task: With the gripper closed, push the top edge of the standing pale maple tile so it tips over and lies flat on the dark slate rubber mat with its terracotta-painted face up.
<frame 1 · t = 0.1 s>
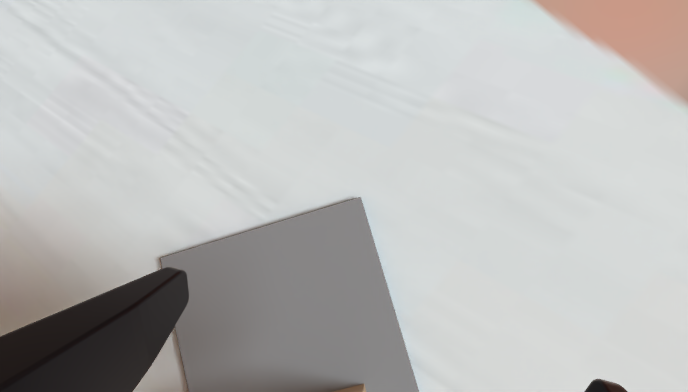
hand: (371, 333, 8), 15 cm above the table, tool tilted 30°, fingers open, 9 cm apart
slate mat: (291, 348, 23), on the table
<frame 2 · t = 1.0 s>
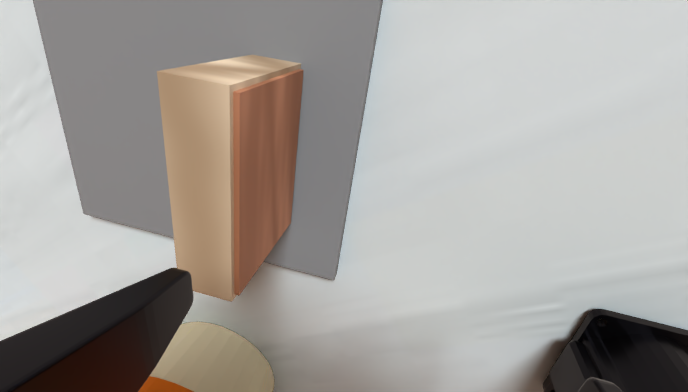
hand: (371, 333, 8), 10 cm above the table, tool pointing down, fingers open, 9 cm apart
maple tile: (272, 147, 17), point 1 cm above the table, touching slate mat
slate mat: (202, 127, 18), on the table
reusable coffee cup: (220, 364, 27), on the table
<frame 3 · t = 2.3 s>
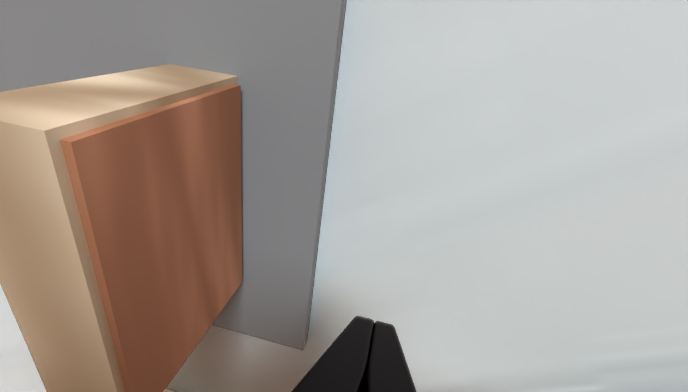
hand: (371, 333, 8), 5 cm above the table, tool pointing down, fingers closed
maple tile: (210, 187, 12), point 1 cm above the table, touching slate mat
slate mat: (122, 159, 14), on the table
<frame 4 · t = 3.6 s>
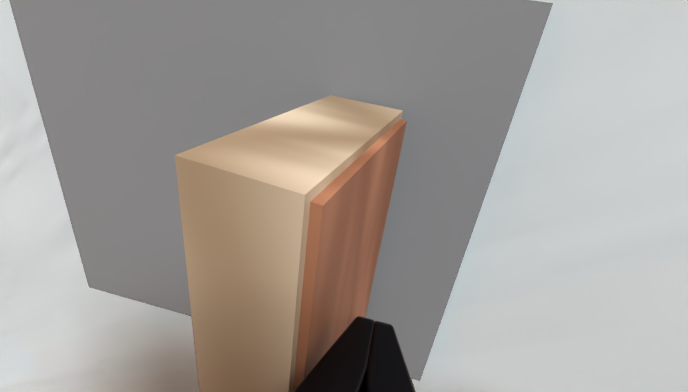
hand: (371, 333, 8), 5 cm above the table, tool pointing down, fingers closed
maple tile: (347, 220, 12), point 1 cm above the table, tilted 9°, touching slate mat
slate mat: (248, 187, 13), on the table
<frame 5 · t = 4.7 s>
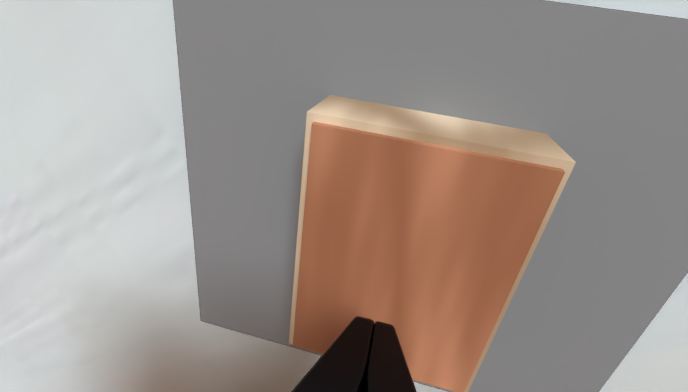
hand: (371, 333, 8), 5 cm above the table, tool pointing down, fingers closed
maple tile: (503, 275, 10), point 2 cm above the table, tilted 90°, touching slate mat
slate mat: (408, 224, 12), on the table
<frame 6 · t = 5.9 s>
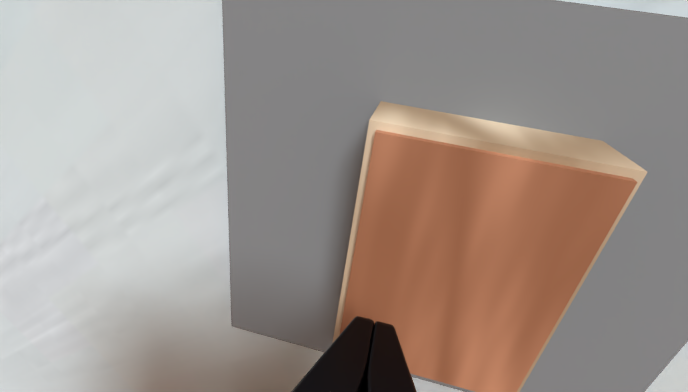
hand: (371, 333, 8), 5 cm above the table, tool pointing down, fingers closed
maple tile: (554, 282, 10), point 2 cm above the table, tilted 90°, touching slate mat
slate mat: (451, 230, 12), on the table
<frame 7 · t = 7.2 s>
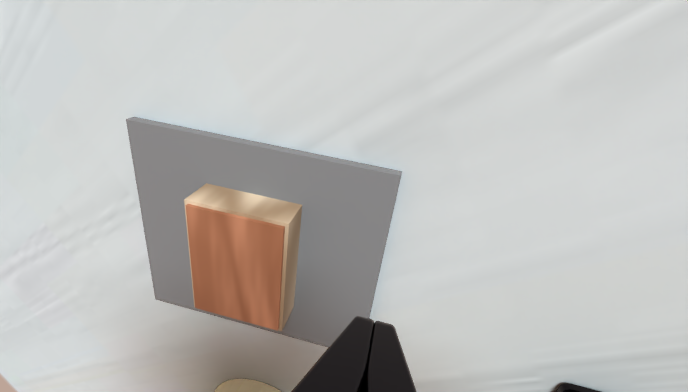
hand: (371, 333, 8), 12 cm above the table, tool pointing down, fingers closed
maple tile: (291, 270, 21), point 2 cm above the table, tilted 90°, touching slate mat
slate mat: (258, 244, 23), on the table
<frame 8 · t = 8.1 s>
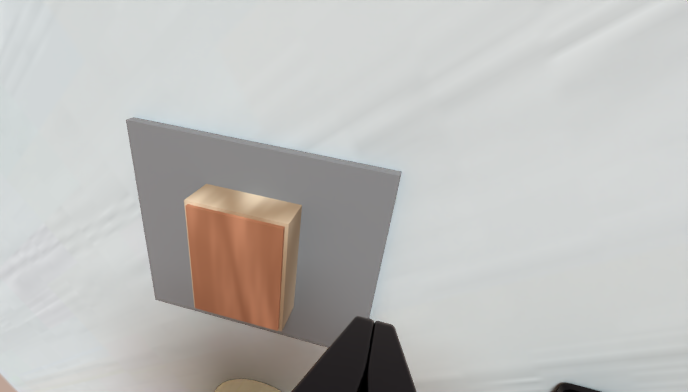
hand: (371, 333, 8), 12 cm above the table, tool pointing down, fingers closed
maple tile: (291, 271, 21), point 2 cm above the table, tilted 90°, touching slate mat
slate mat: (258, 244, 23), on the table
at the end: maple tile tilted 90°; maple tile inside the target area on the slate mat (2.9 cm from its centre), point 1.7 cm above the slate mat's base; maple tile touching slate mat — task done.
